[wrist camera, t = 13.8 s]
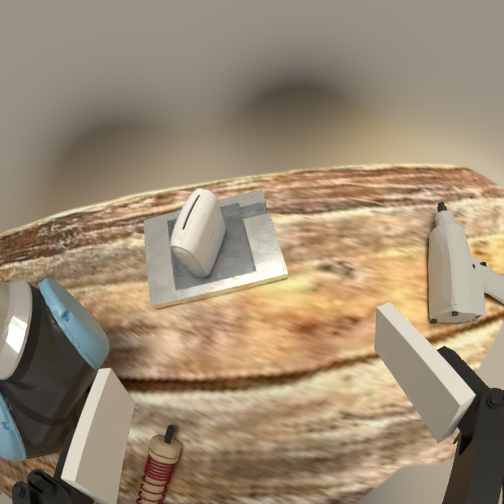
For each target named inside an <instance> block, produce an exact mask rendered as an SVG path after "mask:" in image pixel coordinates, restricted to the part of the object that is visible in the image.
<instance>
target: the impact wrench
mask: <svg viewBox="0 0 504 504" xmlns="http://www.w3.org/2000/svg"><path fill="white" fill-rule="evenodd" d="M437 210H438V213H437V214H436V215H435V217H434V220H435V224H436V228H434V229H433V230H432V231H431V233H430V236H429V259H428V279H429V317H430V321H431V323H437V322H440V323H463V322H466V321H469V320H472V321H473V322H475V321H478V317H481V316H484V315H485V300H484V293H487V294H489V295H491V296H492V297H494V298H495V299H497V300H498V301H500V302H501V303H503V304H504V274H503V275H498V274H497V273H496V272H494V271H493V270H492V269H491V268H489V267H487V266H486V262H481V263H480V259H478V258H475V257H473V256H471V255H470V251H469V247H468V243H467V239H466V235H465V231H464V228H463V227H462V226H461V225H459V224H456V223H455V222H454V217H453V214H452V212H450V211H447V208H446V206H445V205H444V203H443V202H441V203H439V204H438V207H437Z"/></svg>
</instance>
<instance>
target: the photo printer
mask: <svg viewBox="0 0 504 504" xmlns="http://www.w3.org/2000/svg"><path fill="white" fill-rule="evenodd" d="M225 231H226V225H225V222H224V219H223V215H222V212H221V209H220V206H219V203H218V200H217V197H216V196H215V195H214V194H213V193H212V192H210V191H209V190H203V189H200V188H198V189H196V190H195V191H194V192H193V193H192V194H191V195H190V197H189V198H188V200H187V201H186V203H185V204H184V206H183V208H182V210H181V212H180V214H179V216H178V219H177V221H176V224H175V226H174V229H173V233H172V236H171V242H170V248H171V250H172V251H173V252H174V253H175V255H176V256H177V257H178V258H179V260H180V261H181V262H182V263H183V264H184V266H185V267H186V268H187V269H188V270H189V271H191V272H192V274H193V275H195V276H197V277H206V276H209V274H210V272H211V270H212V268H213V266H214V263H215V261H216V258H217V255H218V253H219V250H220V247H221V244H222V241H223V238H224V235H225Z"/></svg>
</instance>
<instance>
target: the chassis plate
mask: <svg viewBox="0 0 504 504" xmlns="http://www.w3.org/2000/svg"><path fill="white" fill-rule="evenodd" d="M218 203H219V206H220V209H221V212H222V215H223V219H224V222H225V225H226V231H225V235H224V238H223V241H222V244H221V247H220V250H219V253H218V255H217V258H216V261H215V263H214V266H213V268H212V270H211V272H210V274H209V276H206V277H197V276H195V275H193V274H192V272H191V271H189V270H188V269H187V268H186V267H185V266H184V264H183V263H182V262H181V261H180V260H179V258H178V257H177V256H176V255H175V253H174V252H173V251H172V250H171V248H170V242H171V236H172V233H173V229H174V226H175V224H176V221H177V219H178V216H179V214H180V212H181V210H179V211H176V212H172V213H168V214H165V215H161V216H158V217H154V218H151V219H147V220H144V231H145V248H146V262H147V274H148V284H149V294H150V302H151V306H152V307H154V308H156V309H160V308H164V307H169V306H174V305H178V304H183V303H187V302H192V301H196V300H201V299H205V298H209V297H214V296H218V295H222V294H226V293H231V292H235V291H239V290H243V289H247V288H251V287H255V286H259V285H263V284H267V283H271V282H275V281H279V280H283V279H287V276H288V272H287V269H286V265H285V262H284V259H283V255H282V252H281V249H280V246H279V242H278V239H277V236H276V233H275V229H274V226H273V223H272V220H271V217H270V214H269V213H267V210H266V201H265V198H264V195H263V192H262V190H260V191H255V192H251V193H247V194H242V195H238V196H234V197H230V198H226V199H222V200H218Z"/></svg>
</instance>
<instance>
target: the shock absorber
mask: <svg viewBox="0 0 504 504" xmlns="http://www.w3.org/2000/svg"><path fill="white" fill-rule="evenodd" d="M173 433H174V426H172V425H169V426H168V428H167V431H166V435H165V436H162V435H156V436H153V437H152V440H151V443H150V447H149V450H148V453H149V454H148V456H149V457H148V458H147V459H148V460H147V463H146V465H145V470H144V473H145V476H143V477H142V480H143V481H144V484H141V485H140V488H141V489H142V491H139V493H138V495H139V497H140V498H138V499H137V500H136V502H137V504H140V503H139V502H138V501H139V500H142V503H143V504H158V502H161V504H163V502H162V501H163V500H164V499H165V494H164V493H166V492H167V485H168V484H169V483H170V479H171V476H172V472H173V469H174V466H175V463H176V462H177V461H178V458H179V455H180V451H181V448H182V445H181V444H180V443H178V442H177V441H176V440H174V439H172V437H173ZM146 472H147V473H146ZM169 472H170V473H169ZM168 475H169V476H168ZM145 477H146V478H145ZM144 478H145V479H144ZM167 481H168V482H167ZM166 482H167V483H166ZM143 485H144V486H143ZM142 486H143V488H142ZM164 487H165V491H164V492H163V490H164ZM140 493H143V495H142V496H141V495H140ZM162 494H163V498H162V499H161V497H162Z"/></svg>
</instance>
